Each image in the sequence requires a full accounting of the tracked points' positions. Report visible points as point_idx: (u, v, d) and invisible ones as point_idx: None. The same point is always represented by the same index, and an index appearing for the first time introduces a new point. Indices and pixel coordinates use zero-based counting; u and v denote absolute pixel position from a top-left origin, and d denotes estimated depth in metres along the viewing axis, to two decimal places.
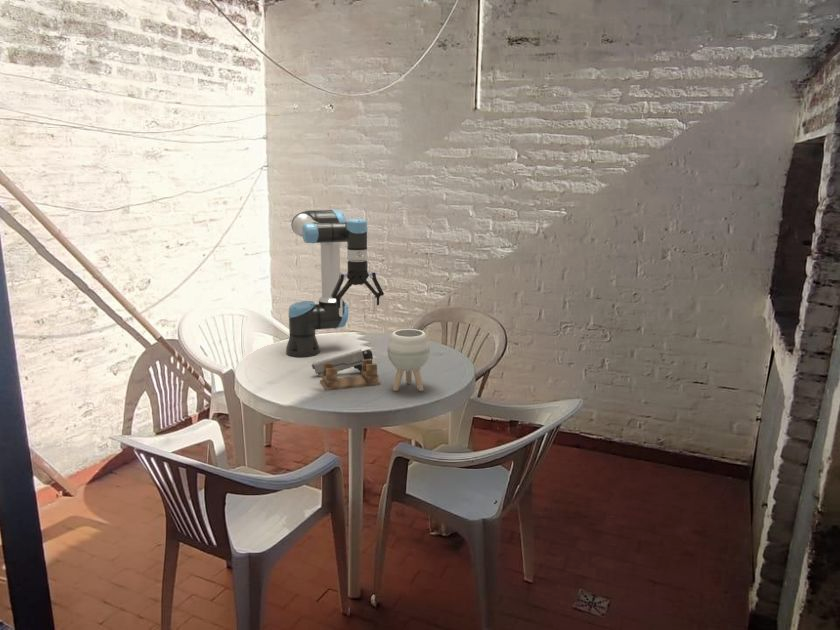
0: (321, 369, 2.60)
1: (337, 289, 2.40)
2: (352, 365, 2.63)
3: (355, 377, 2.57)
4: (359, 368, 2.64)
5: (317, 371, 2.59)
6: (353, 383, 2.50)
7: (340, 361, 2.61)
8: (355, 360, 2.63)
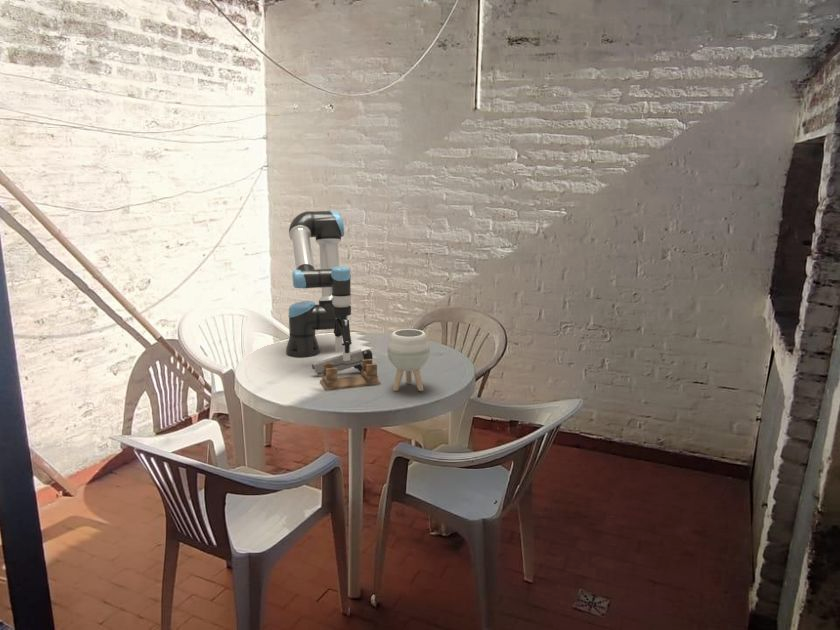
0: (321, 369, 2.60)
1: (334, 326, 2.67)
2: (352, 365, 2.63)
3: (355, 377, 2.57)
4: (359, 368, 2.64)
5: (317, 371, 2.59)
6: (353, 383, 2.50)
7: (340, 361, 2.61)
8: (355, 360, 2.63)
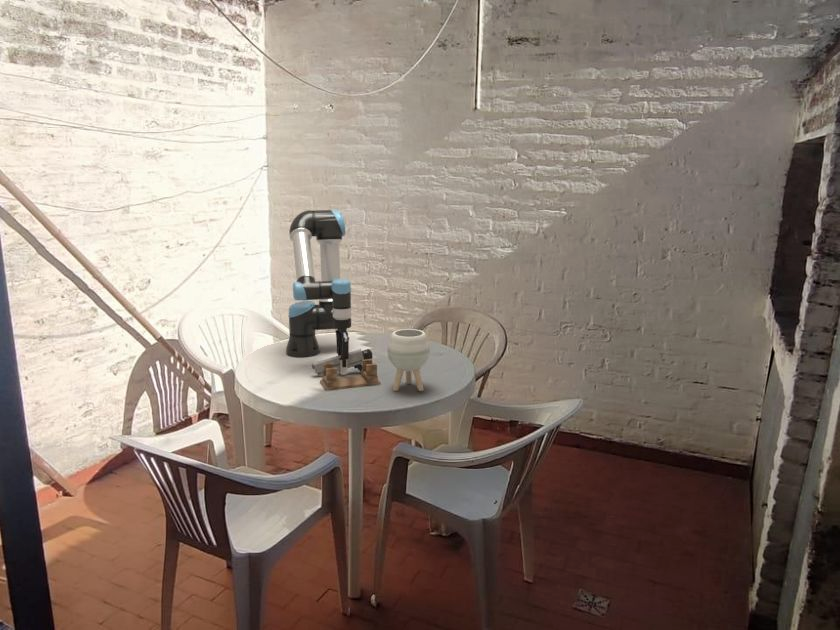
0: (321, 369, 2.59)
1: None
2: (352, 365, 2.63)
3: (355, 377, 2.57)
4: (359, 368, 2.64)
5: (317, 371, 2.59)
6: (353, 383, 2.50)
7: None
8: (355, 360, 2.63)
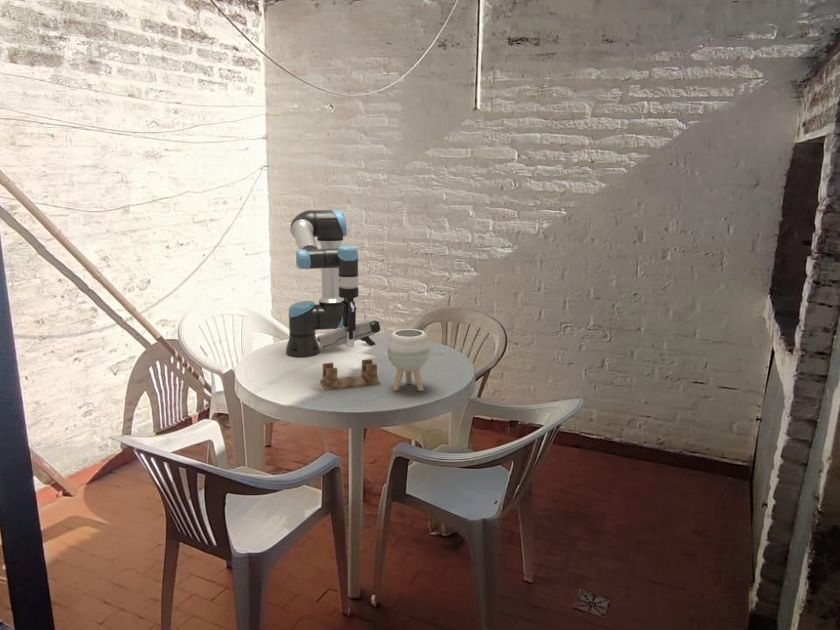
0: (327, 342, 2.45)
1: (343, 316, 2.51)
2: (359, 337, 2.49)
3: (355, 377, 2.57)
4: (366, 340, 2.50)
5: (323, 344, 2.44)
6: (353, 383, 2.50)
7: None
8: (362, 332, 2.49)
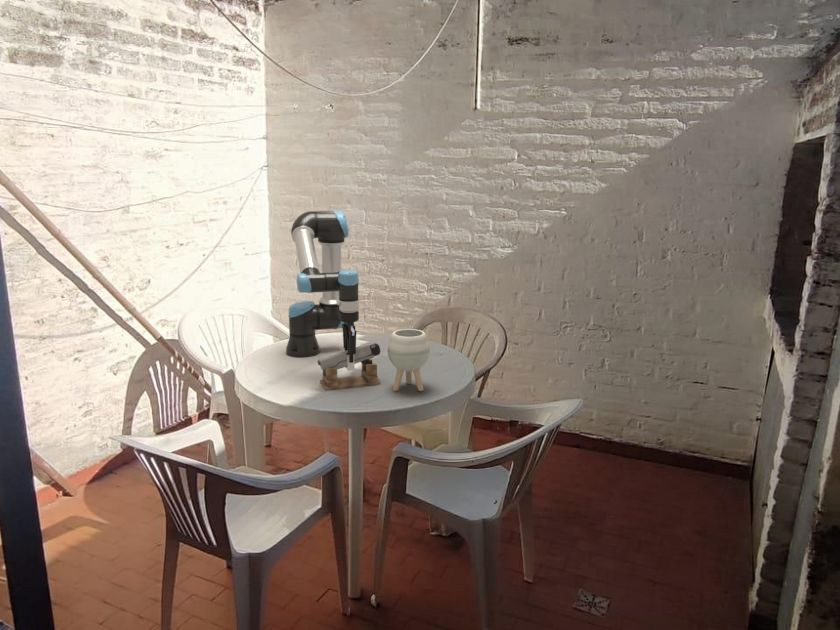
0: (327, 365, 2.47)
1: (343, 339, 2.53)
2: (359, 360, 2.51)
3: (355, 377, 2.57)
4: (367, 363, 2.52)
5: (323, 367, 2.46)
6: (353, 383, 2.50)
7: None
8: (362, 355, 2.51)
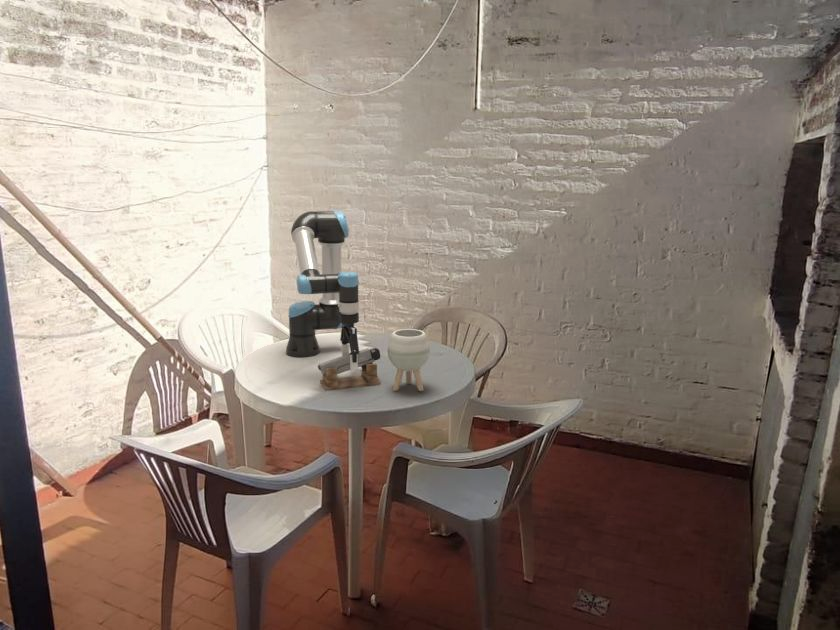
0: None
1: (341, 333, 2.56)
2: (359, 365, 2.52)
3: (355, 377, 2.57)
4: None
5: (324, 372, 2.47)
6: (353, 383, 2.50)
7: (347, 361, 2.49)
8: (363, 359, 2.51)
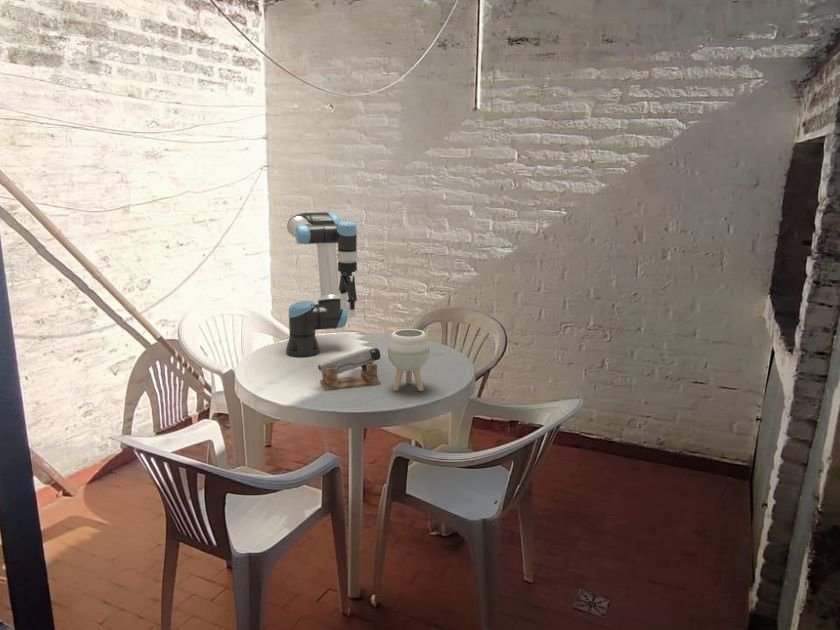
0: None
1: None
2: (359, 365, 2.52)
3: (355, 377, 2.57)
4: None
5: (324, 372, 2.47)
6: (353, 383, 2.50)
7: (347, 361, 2.49)
8: (363, 359, 2.51)
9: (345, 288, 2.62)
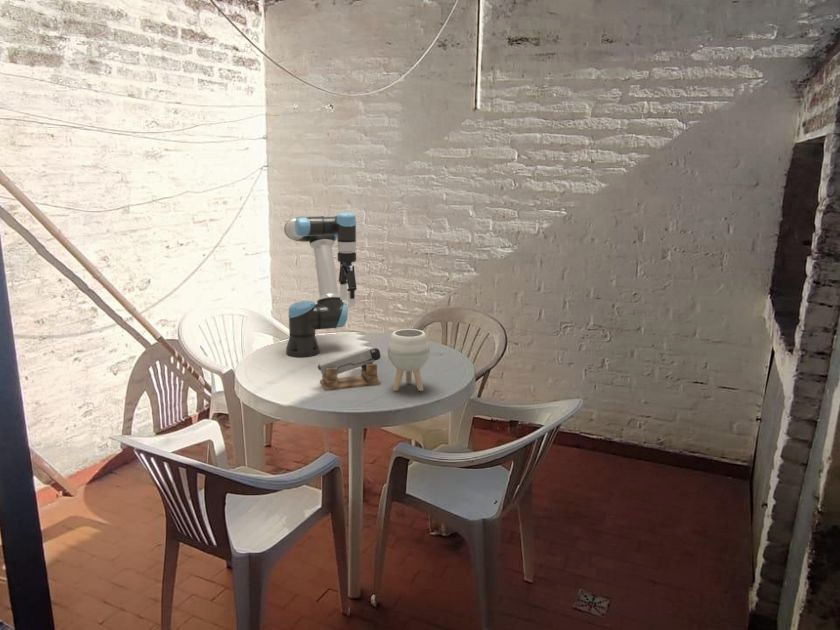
0: None
1: (339, 274, 2.69)
2: (359, 365, 2.52)
3: (355, 377, 2.57)
4: None
5: (324, 372, 2.47)
6: (353, 383, 2.50)
7: (347, 361, 2.49)
8: (363, 359, 2.51)
9: (345, 279, 2.67)
